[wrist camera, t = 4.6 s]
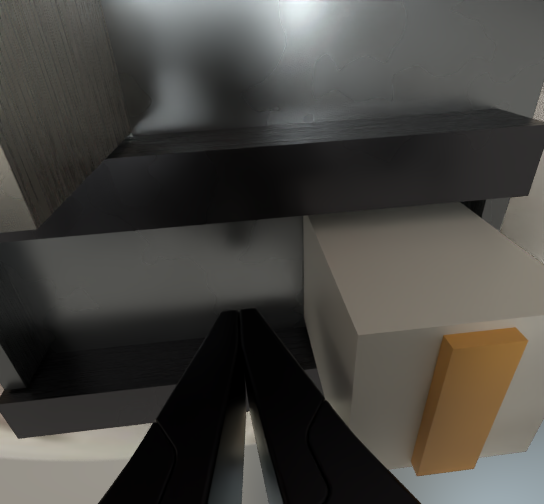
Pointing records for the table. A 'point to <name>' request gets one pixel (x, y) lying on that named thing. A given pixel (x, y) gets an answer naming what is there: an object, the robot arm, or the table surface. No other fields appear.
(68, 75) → the grey desk organizer
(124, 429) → the table surface
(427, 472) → the block
